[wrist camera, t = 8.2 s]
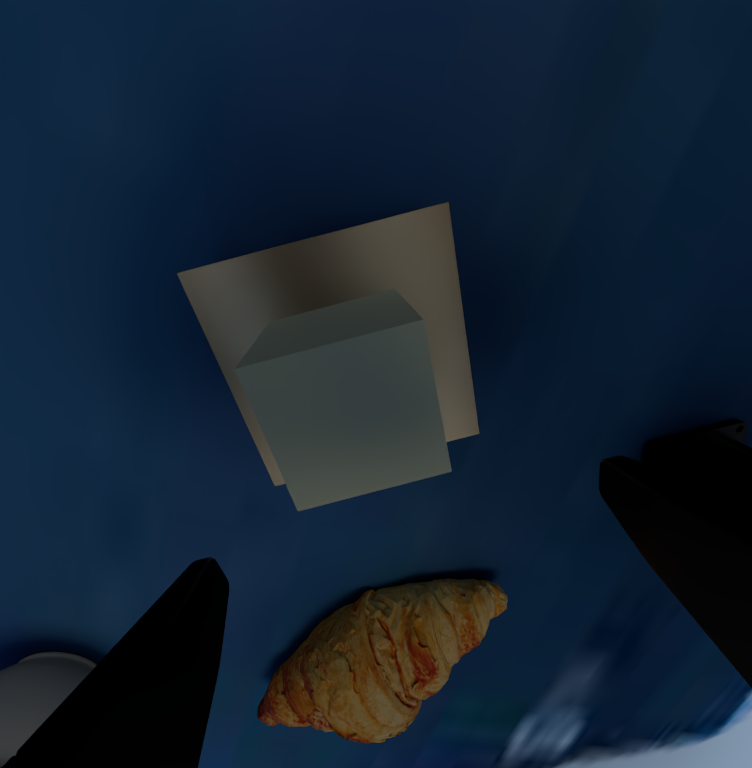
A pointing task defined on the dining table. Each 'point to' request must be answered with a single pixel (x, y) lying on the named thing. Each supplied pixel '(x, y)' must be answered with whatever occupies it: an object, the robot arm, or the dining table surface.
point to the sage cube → (347, 399)
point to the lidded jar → (35, 694)
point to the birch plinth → (343, 300)
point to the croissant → (381, 658)
